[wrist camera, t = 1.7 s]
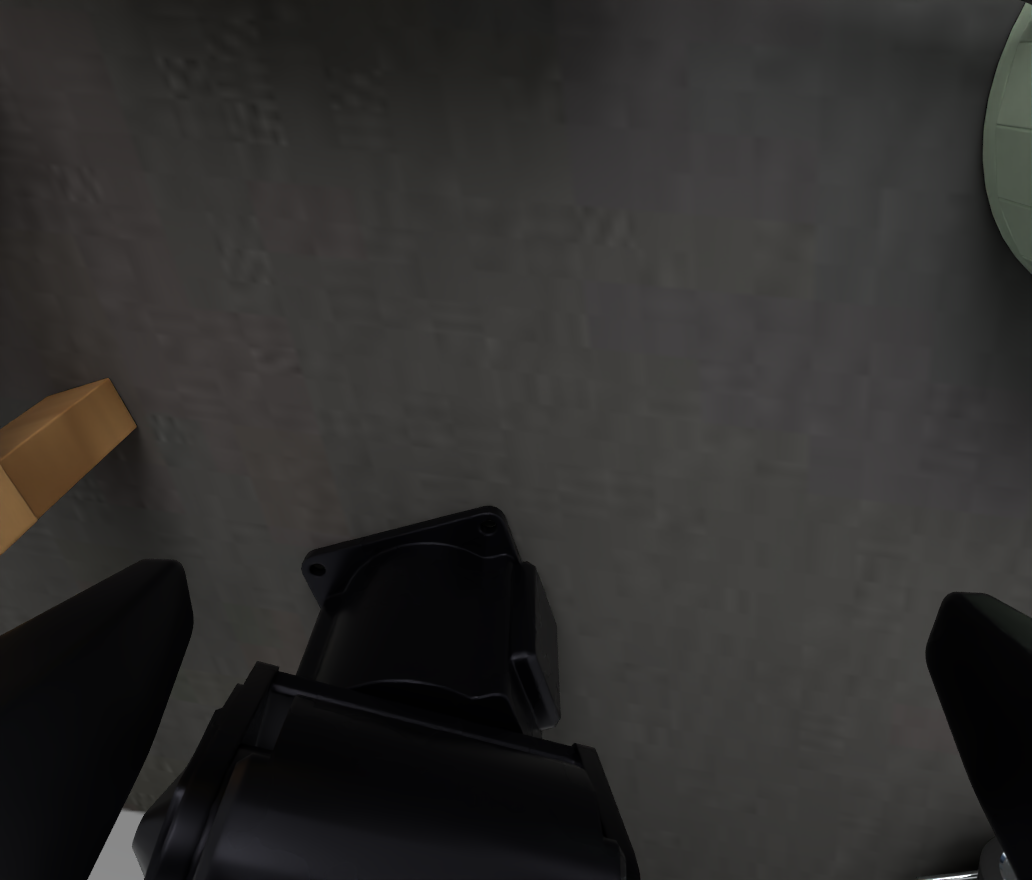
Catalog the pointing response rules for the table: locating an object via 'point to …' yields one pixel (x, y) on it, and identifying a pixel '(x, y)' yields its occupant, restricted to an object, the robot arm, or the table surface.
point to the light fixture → (1028, 1)
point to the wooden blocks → (55, 451)
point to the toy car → (983, 866)
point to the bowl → (1012, 141)
